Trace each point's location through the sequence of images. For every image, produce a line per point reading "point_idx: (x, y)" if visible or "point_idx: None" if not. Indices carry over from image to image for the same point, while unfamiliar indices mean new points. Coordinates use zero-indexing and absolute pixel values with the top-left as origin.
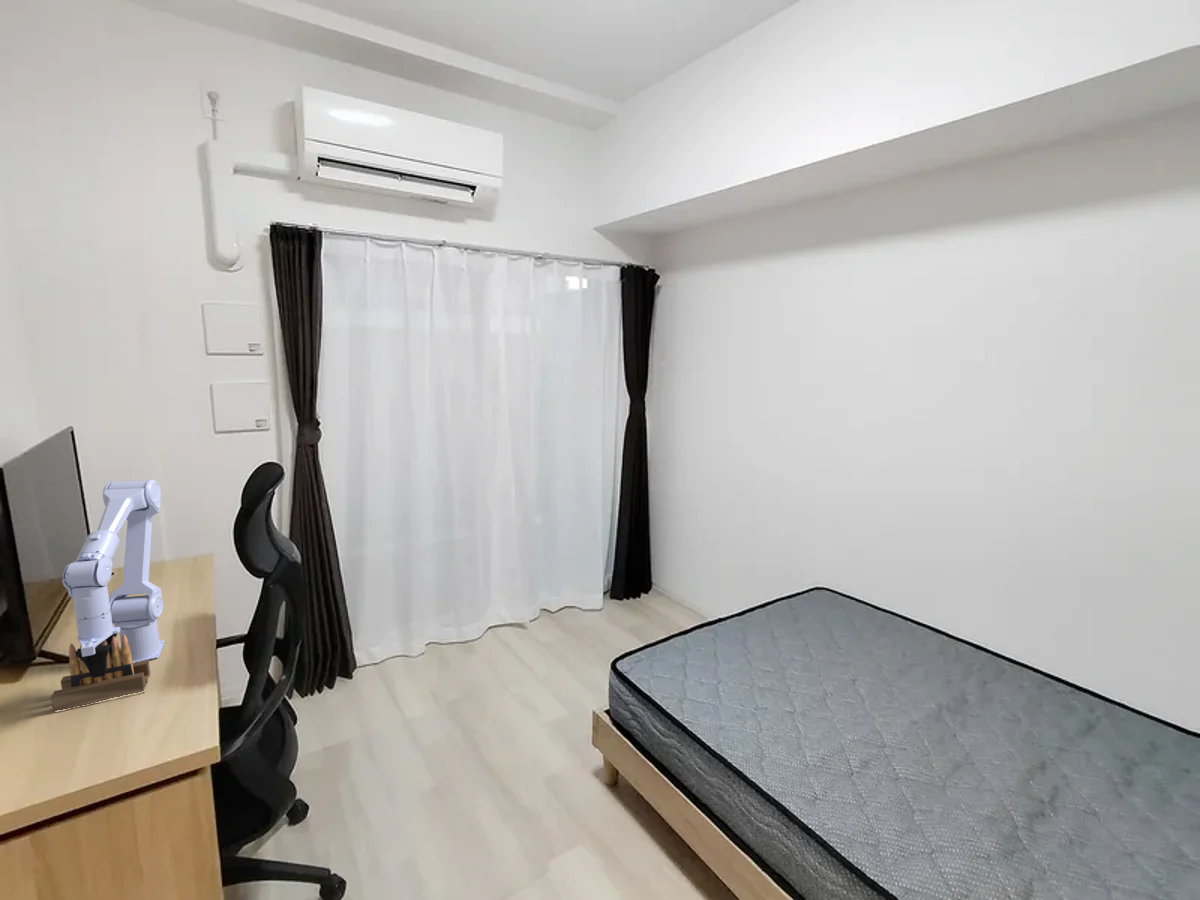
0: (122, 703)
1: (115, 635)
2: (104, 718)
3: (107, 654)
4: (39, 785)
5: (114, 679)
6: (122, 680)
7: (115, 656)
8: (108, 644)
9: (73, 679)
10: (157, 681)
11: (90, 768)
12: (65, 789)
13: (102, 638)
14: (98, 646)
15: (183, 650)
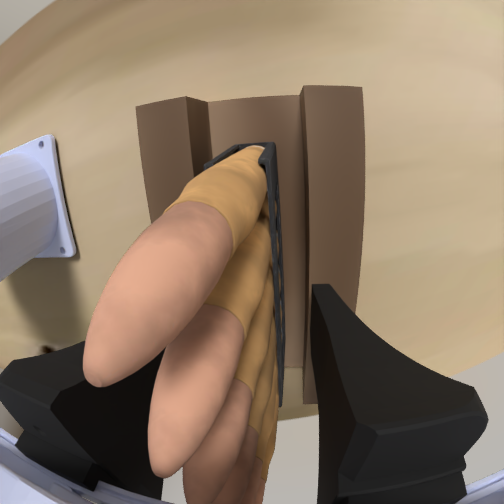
0: (391, 167)
1: (63, 399)
2: (461, 210)
3: (358, 363)
4: None
5: (324, 227)
6: (359, 183)
7: (264, 283)
8: (131, 383)
9: (282, 387)
10: (247, 64)
11: None
12: None
13: None
14: (402, 496)
15: (33, 74)
